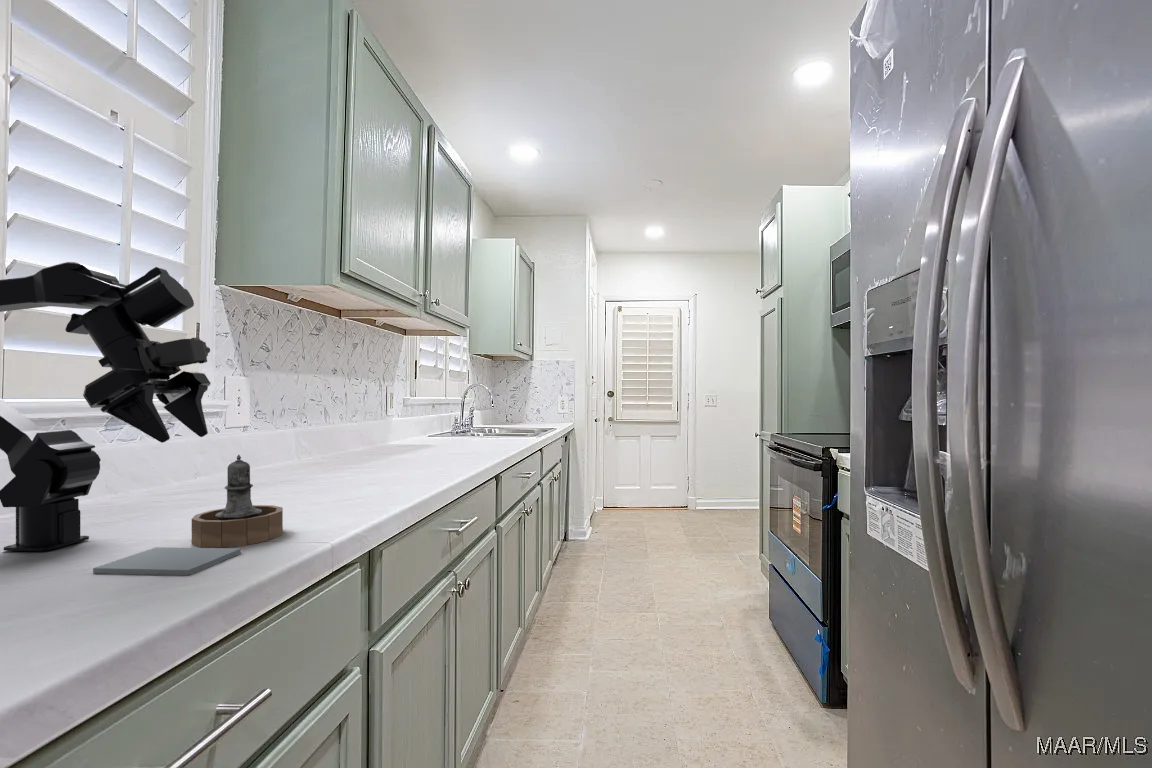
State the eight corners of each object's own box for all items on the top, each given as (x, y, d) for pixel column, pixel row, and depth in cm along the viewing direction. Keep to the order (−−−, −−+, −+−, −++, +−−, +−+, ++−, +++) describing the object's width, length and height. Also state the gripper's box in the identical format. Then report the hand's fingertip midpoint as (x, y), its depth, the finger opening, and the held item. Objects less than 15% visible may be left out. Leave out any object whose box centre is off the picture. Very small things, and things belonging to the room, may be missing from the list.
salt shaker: (241, 543, 80) (240, 457, 81) (205, 541, 82) (204, 456, 82) (271, 533, 86) (270, 452, 86) (237, 531, 87) (237, 452, 88)
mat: (93, 573, 68) (93, 568, 68) (155, 551, 77) (155, 547, 77) (188, 575, 66) (188, 569, 66) (241, 553, 75) (240, 548, 75)
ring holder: (173, 546, 79) (172, 521, 79) (229, 527, 90) (229, 505, 90) (250, 548, 78) (250, 522, 78) (297, 528, 89) (297, 505, 89)
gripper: (131, 305, 73) (199, 409, 73) (211, 322, 91) (266, 405, 92) (50, 352, 72) (120, 457, 72) (148, 359, 90) (203, 443, 91)
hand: (186, 438), depth 82 cm, fingers open, 9 cm apart
